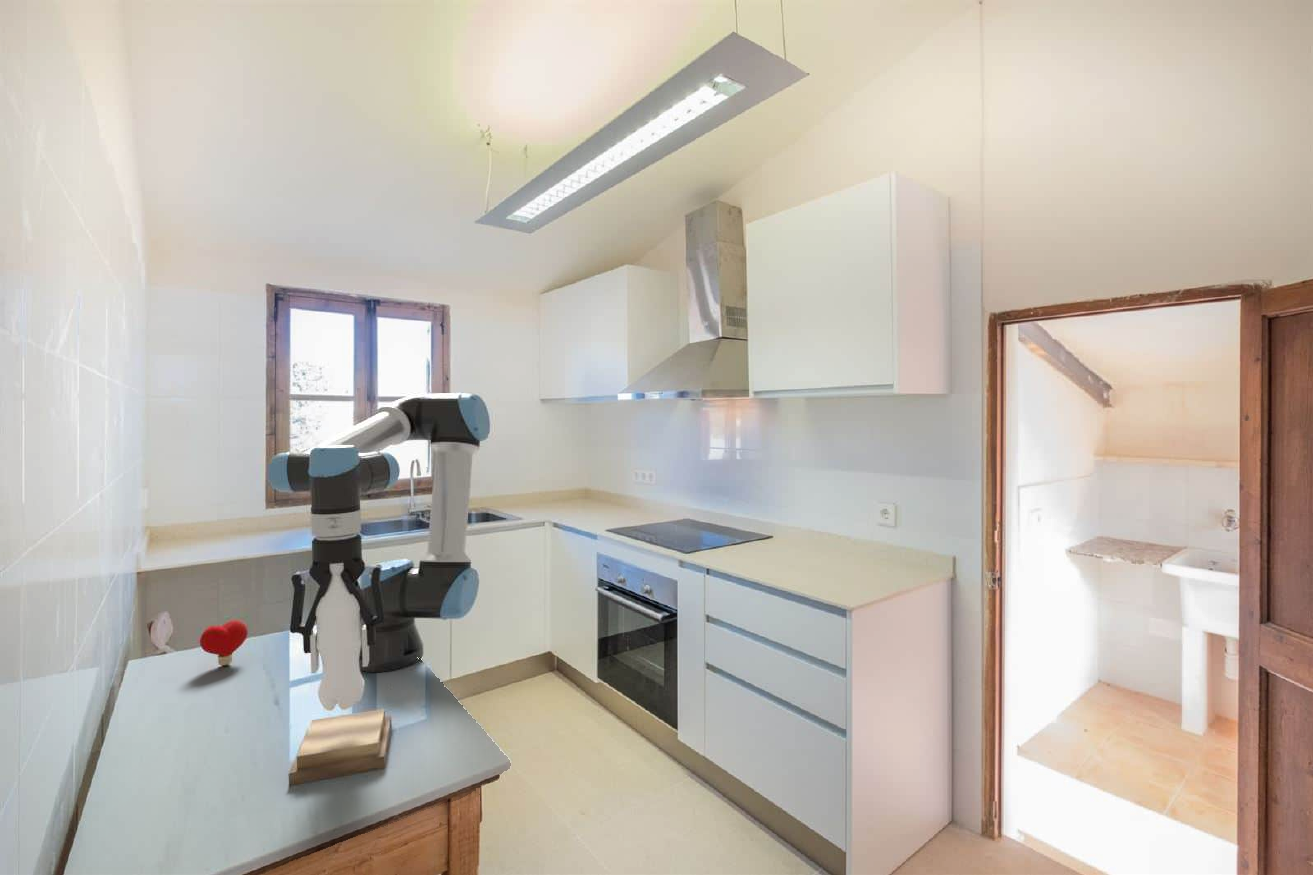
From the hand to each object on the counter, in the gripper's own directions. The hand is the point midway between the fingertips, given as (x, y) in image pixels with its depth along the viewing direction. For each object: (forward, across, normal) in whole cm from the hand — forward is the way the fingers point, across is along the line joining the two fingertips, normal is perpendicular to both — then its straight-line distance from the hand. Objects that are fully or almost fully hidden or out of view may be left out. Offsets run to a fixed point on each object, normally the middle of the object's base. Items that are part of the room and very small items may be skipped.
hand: (341, 666), depth 105 cm
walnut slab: (+16, 0, 0) cm, 16 cm away
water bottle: (+7, 0, 0) cm, 7 cm away
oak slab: (+14, 0, 0) cm, 14 cm away
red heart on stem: (+16, -32, +49) cm, 61 cm away
